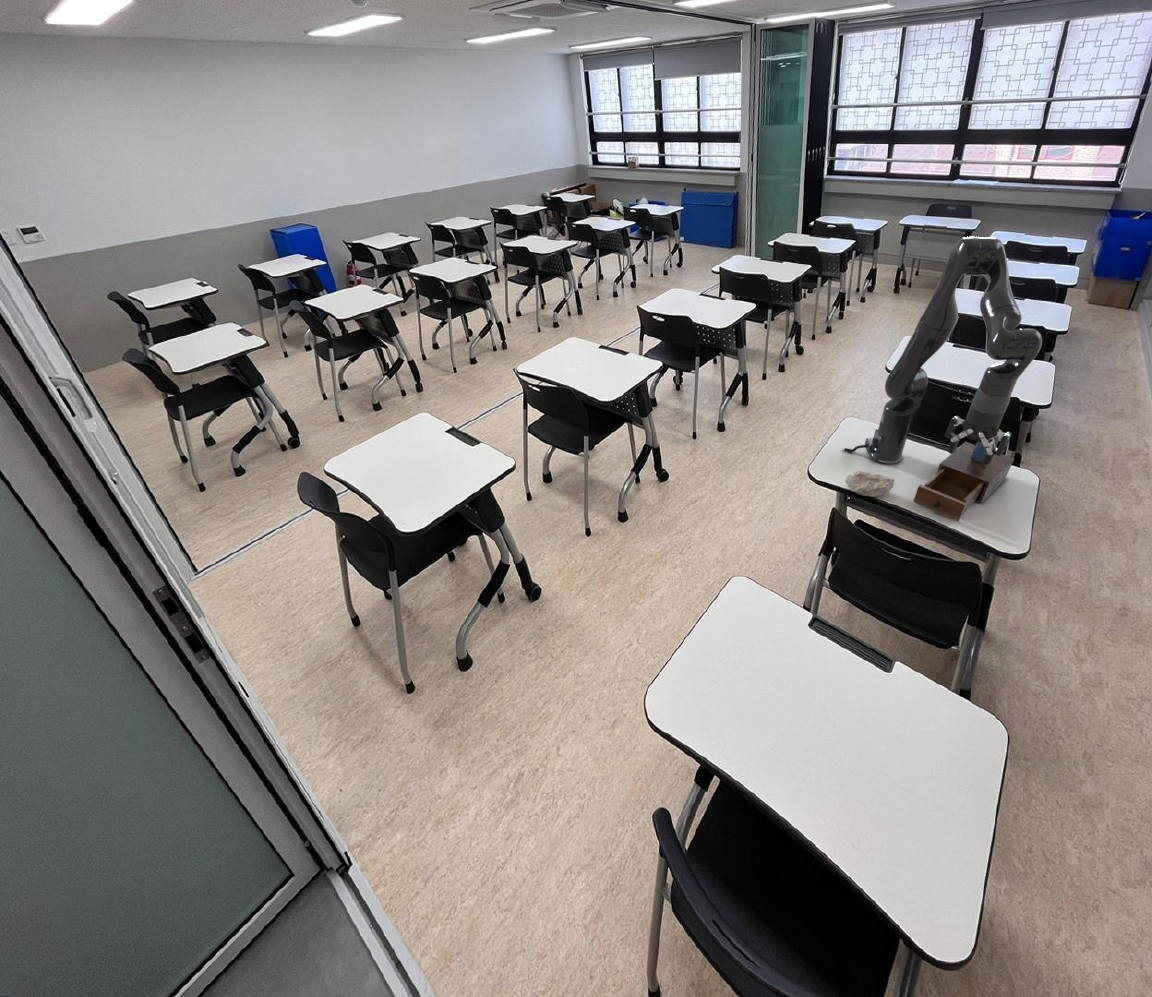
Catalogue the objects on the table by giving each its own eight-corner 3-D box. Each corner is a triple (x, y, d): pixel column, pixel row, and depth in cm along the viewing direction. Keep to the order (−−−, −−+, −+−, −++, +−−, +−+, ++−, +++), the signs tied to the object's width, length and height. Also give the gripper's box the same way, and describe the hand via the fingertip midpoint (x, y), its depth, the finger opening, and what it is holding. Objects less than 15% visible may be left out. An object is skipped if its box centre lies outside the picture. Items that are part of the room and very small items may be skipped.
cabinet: (980, 503, 178) (989, 482, 173) (932, 483, 187) (939, 463, 182) (1005, 479, 186) (1014, 458, 181) (957, 461, 195) (965, 441, 190)
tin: (986, 464, 179) (997, 437, 173) (967, 458, 183) (978, 431, 177) (994, 457, 182) (1005, 430, 176) (975, 451, 185) (986, 424, 179)
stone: (873, 509, 185) (896, 490, 178) (840, 487, 186) (862, 468, 179) (875, 496, 190) (898, 477, 183) (844, 475, 191) (865, 455, 184)
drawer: (956, 523, 170) (963, 507, 167) (911, 503, 179) (916, 487, 175) (982, 497, 178) (990, 480, 175) (938, 479, 187) (944, 463, 183)
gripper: (1026, 409, 143) (1002, 462, 153) (965, 391, 152) (946, 443, 162) (1014, 420, 139) (990, 474, 149) (952, 401, 149) (934, 453, 159)
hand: (967, 458), depth 156 cm, fingers open, 8 cm apart
